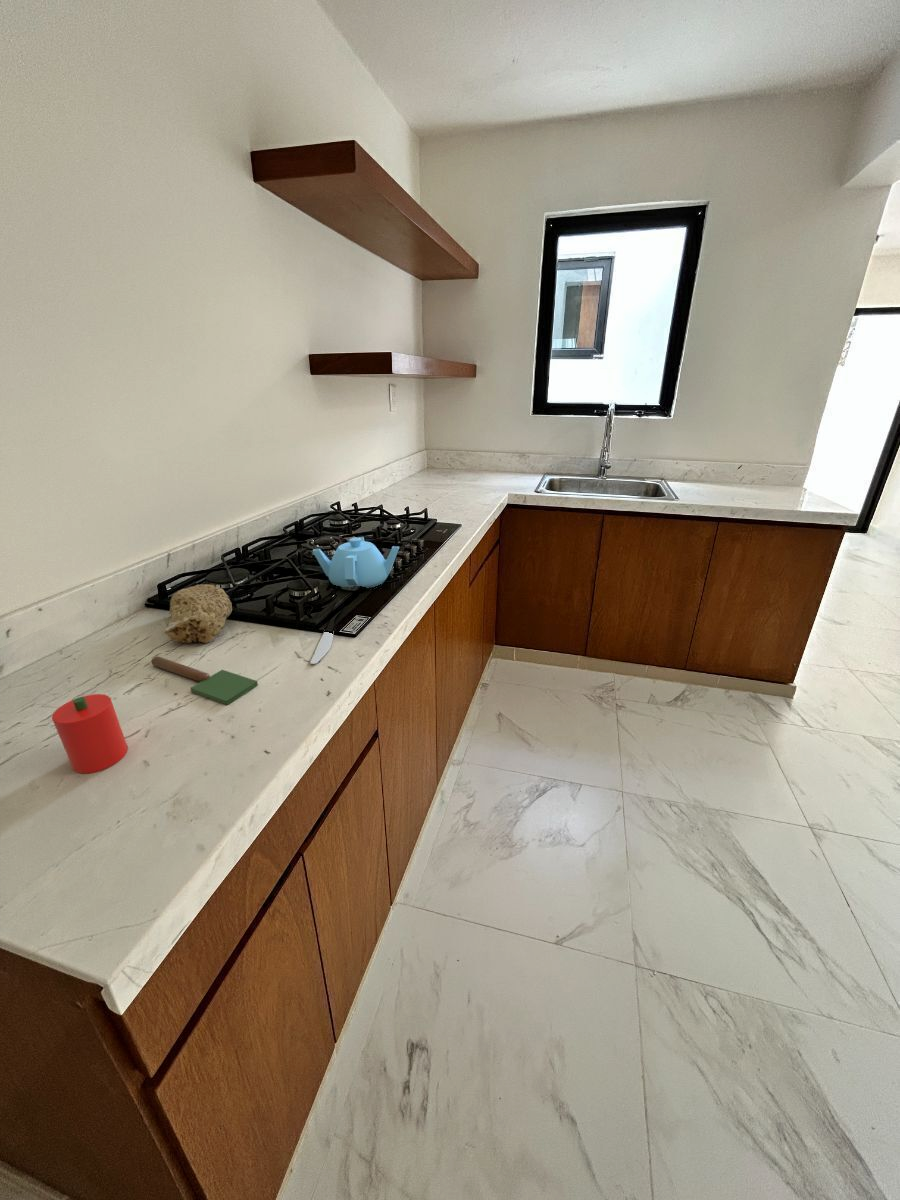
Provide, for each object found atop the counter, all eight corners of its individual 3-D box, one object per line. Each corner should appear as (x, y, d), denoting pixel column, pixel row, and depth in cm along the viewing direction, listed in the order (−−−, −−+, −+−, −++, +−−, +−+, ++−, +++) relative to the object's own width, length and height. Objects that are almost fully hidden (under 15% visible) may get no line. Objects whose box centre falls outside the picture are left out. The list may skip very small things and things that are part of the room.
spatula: (138, 672, 83) (135, 664, 82) (171, 656, 88) (168, 648, 87) (226, 705, 74) (224, 696, 73) (258, 685, 79) (256, 676, 78)
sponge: (229, 648, 92) (246, 588, 109) (210, 616, 88) (231, 558, 104) (159, 665, 92) (187, 603, 108) (136, 633, 87) (168, 573, 103)
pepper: (62, 764, 63) (37, 706, 59) (110, 736, 68) (90, 681, 64) (89, 779, 60) (65, 720, 57) (137, 749, 65) (118, 693, 62)
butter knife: (350, 598, 108) (336, 597, 108) (323, 663, 83) (305, 663, 83) (350, 600, 108) (336, 600, 108) (323, 666, 84) (305, 666, 84)
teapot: (313, 583, 119) (307, 539, 114) (364, 567, 128) (360, 526, 124) (351, 600, 109) (346, 553, 104) (403, 581, 119) (400, 537, 114)
